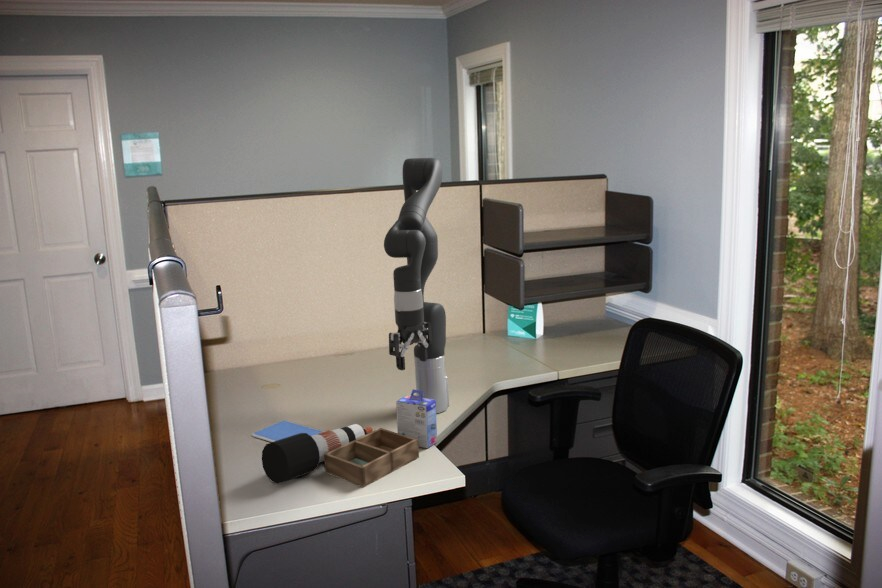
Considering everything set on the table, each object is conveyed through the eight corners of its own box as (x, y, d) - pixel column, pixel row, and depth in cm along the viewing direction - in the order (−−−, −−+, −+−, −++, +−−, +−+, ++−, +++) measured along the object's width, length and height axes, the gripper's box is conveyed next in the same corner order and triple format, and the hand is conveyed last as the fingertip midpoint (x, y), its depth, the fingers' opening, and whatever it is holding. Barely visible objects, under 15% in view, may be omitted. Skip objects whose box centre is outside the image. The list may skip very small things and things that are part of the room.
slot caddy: (381, 445, 197) (380, 427, 196) (419, 457, 189) (418, 439, 188) (325, 472, 183) (324, 454, 182) (363, 487, 174) (362, 468, 173)
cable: (375, 455, 202) (388, 427, 198) (280, 491, 176) (293, 461, 172) (353, 432, 207) (365, 405, 203) (257, 464, 180) (268, 434, 177)
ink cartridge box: (438, 441, 198) (436, 391, 195) (428, 449, 193) (426, 397, 190) (408, 435, 203) (405, 386, 200) (397, 443, 198) (394, 393, 195)
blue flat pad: (250, 437, 208) (250, 433, 208) (284, 422, 218) (284, 418, 218) (295, 452, 197) (295, 448, 196) (329, 436, 206) (329, 432, 206)
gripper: (416, 299, 198) (420, 356, 201) (379, 310, 187) (383, 370, 191) (437, 302, 193) (440, 360, 196) (400, 313, 182) (404, 375, 186)
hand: (412, 365), depth 194 cm, fingers open, 8 cm apart
